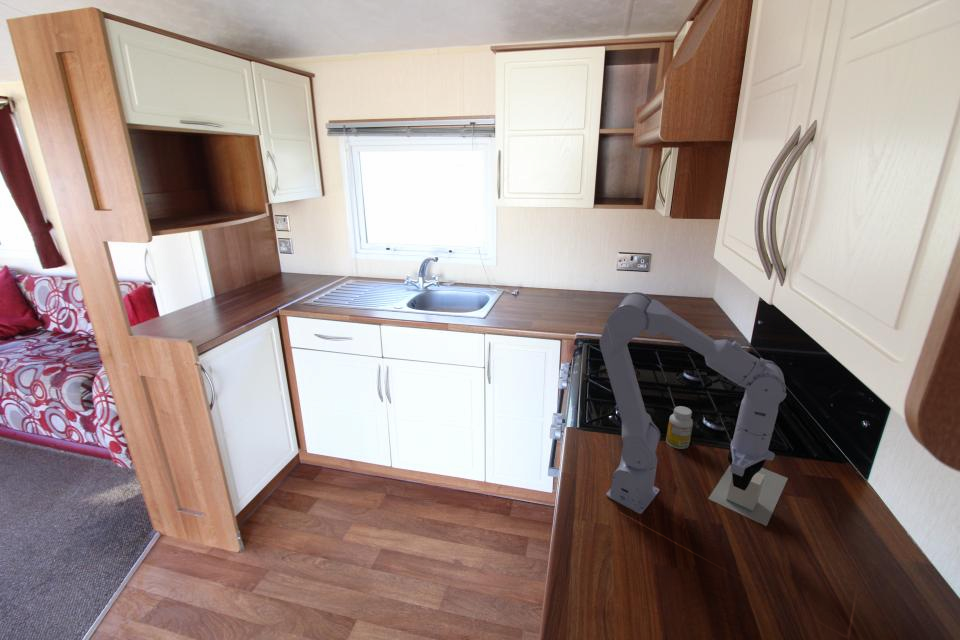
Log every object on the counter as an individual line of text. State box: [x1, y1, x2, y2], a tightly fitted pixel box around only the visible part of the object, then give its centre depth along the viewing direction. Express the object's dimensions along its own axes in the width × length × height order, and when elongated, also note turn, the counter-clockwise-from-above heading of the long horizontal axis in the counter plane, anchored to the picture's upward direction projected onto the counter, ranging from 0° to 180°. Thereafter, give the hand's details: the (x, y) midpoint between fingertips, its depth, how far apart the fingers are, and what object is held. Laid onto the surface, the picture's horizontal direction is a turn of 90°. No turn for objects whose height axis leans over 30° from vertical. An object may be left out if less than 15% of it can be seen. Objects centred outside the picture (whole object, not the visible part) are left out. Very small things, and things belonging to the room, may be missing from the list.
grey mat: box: [707, 464, 789, 527], centre depth 100 cm, size 19×11×1 cm, turn 137°
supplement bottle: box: [665, 405, 694, 450], centre depth 114 cm, size 5×5×10 cm
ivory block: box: [726, 473, 765, 513], centre depth 95 cm, size 4×5×7 cm
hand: (739, 486), depth 88 cm, fingers closed
